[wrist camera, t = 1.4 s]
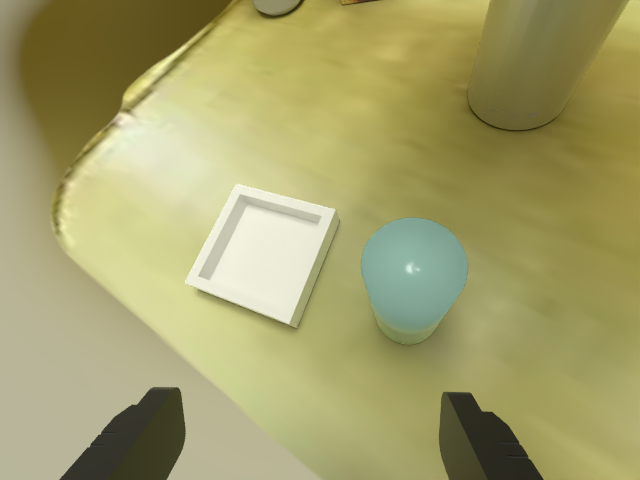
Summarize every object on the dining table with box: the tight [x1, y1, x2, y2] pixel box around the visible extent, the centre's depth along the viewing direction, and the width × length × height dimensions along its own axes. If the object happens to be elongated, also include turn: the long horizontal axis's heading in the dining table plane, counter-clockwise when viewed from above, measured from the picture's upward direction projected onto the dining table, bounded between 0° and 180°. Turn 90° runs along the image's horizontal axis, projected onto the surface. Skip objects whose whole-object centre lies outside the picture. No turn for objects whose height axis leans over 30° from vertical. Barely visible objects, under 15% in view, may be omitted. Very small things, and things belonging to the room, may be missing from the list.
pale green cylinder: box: [361, 218, 468, 345], centre depth 23 cm, size 5×5×13 cm
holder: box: [184, 184, 340, 328], centre depth 33 cm, size 11×11×2 cm
